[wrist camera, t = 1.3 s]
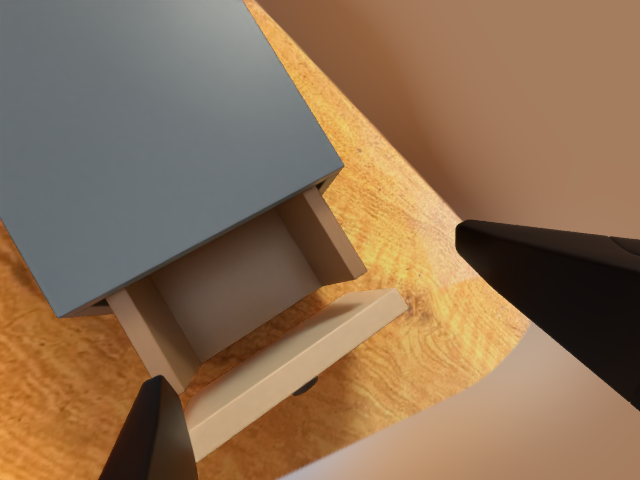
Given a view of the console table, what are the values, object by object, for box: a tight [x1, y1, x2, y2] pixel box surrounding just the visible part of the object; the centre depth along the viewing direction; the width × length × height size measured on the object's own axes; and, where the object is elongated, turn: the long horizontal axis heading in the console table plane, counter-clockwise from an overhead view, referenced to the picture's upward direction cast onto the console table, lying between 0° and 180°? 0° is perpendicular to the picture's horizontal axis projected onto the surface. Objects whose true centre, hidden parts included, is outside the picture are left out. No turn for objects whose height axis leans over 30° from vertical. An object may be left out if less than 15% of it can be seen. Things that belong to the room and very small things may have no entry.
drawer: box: [105, 185, 409, 464], centre depth 18 cm, size 15×11×8 cm
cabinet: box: [0, 0, 344, 319], centre depth 19 cm, size 15×13×10 cm
